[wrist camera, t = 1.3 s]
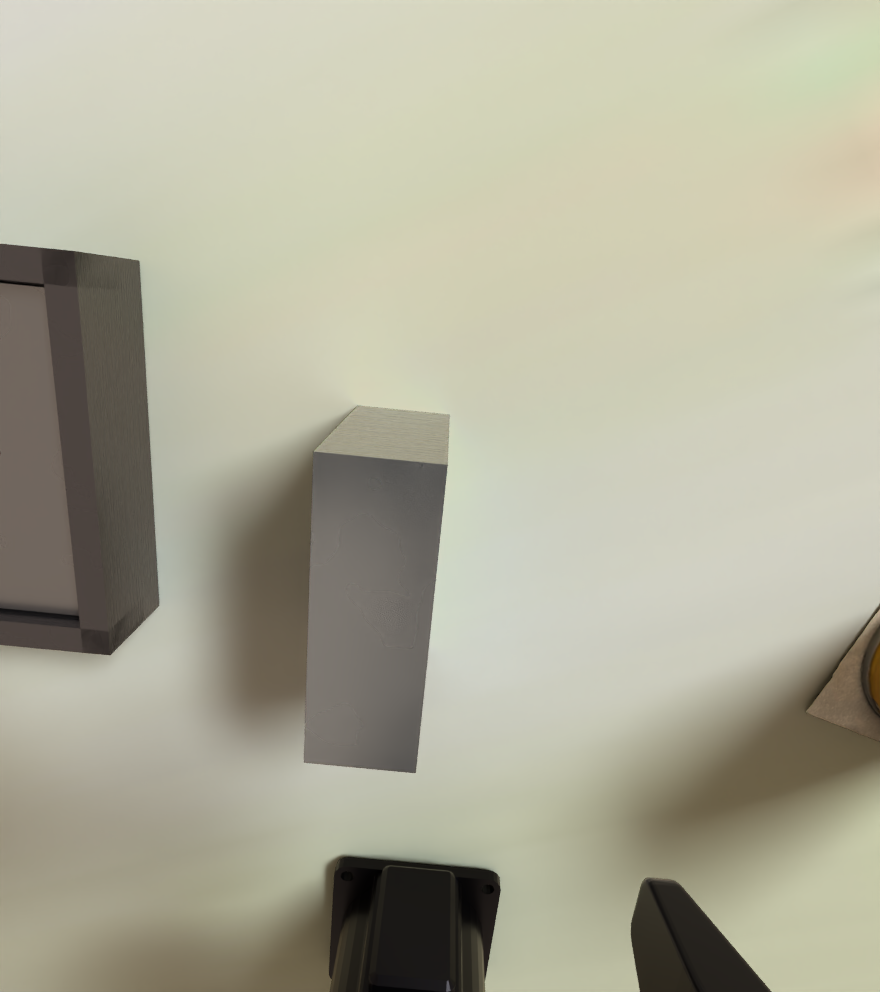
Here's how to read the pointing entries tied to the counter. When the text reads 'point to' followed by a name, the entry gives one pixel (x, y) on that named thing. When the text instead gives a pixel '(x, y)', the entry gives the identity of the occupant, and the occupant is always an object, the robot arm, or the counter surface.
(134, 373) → the rack
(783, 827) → the counter surface
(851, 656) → the condiment
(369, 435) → the grey rectangular block
